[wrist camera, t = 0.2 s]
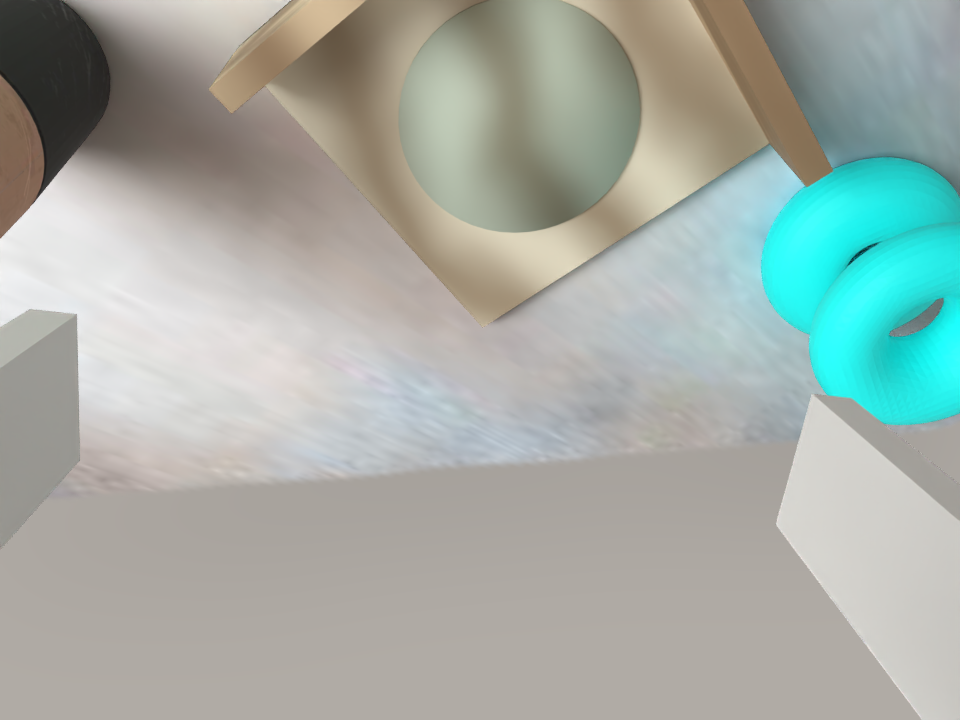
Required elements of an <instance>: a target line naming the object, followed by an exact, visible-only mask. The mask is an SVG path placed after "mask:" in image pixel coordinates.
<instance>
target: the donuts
mask: <svg viewBox="0 0 960 720" xmlns="http://www.w3.org/2000/svg"><path fill="white" fill-rule="evenodd" d="M879 242H881V243H879ZM875 243H879V244H877V245H876V246H874V247H872V248H871V249H869V250H868V251H866V252H865V253H863V254H862V255H861V256H859V257H858V258H857V259H855V260H854V261H853V262H852V263H851V264H850V265H849V266H848V267H847V265H848V263H849V262H850V260H851V259H852V258H853V257H854V256H855V255H856V254H857V253H858V252H859V251H861V250H862V249H864V248H865V247H867V246H869V245H872V244H875ZM846 267H847V268H846ZM761 273H762V281H763V286H764V289H765V292H766V295H767V297H768V299H769V301H770V303H771V304H772V306H773V307H774V309H775V310H776V312H777V313H778V314H779V315H780V316H781V317H782V318H783V319H784V320H785V321H787V322H788V323H789V324H790V325H792V326H793V327H795V328H797V329H798V330H800V331H802V332H804V333H807V334H810V338H809V354H810V360H811V365H812V368H813V372H814V374H815V377H816V379H817V380H818V382H819V384H820V385H821V387H822V388H823V390H824V391H825V393H826V394H827V395H828V396H837V397H846V398H852V399H853V400H854V401H856V402H857V403H858V404H859V405H861V406H862V407H863V408H864V409H866V410H867V411H868V412H870V413H871V414H872V415H873V416H875V417H876V418H877V419H878V420H880V421H881V422H882V423H883V424H890V425H912V424H922V423H928V422H933V421H937V420H941V419H945V418H948V417H951V416H954V415H957V414H959V413H960V197H959V196H958V194H957V192H956V191H955V189H954V188H953V186H952V185H951V184H950V183H949V182H948V181H947V180H946V179H945V178H944V177H942V176H941V175H940V174H939V173H937V172H936V171H934V170H933V169H931V168H929V167H927V166H925V165H923V164H920V163H917V162H914V161H910V160H906V159H901V158H893V157H878V158H869V159H863V160H858V161H854V162H851V163H847V164H845V165H842V166H839V167H837V168H834V169H833V172H831V173H830V174H828V175H826V176H825V177H823V178H821V179H820V180H818V181H817V182H815V183H813V184H812V185H810V186H808V187H806V186H805V187H803V188H802V189H801V190H800V191H799V192H798V193H797V194H796V195H795V196H794V197H793V198H792V199H791V200H790V201H789V202H788V203H787V204H786V205H785V207H784V208H783V209H782V210H781V212H780V213H779V215H778V216H777V218H776V220H775V221H774V223H773V225H772V227H771V229H770V231H769V233H768V236H767V238H766V241H765V244H764V248H763V252H762V260H761ZM940 298H944V302H943V306H942V308H941V311H940V313H939V314H938V315H937V317H936V318H935V319H934V320H933V321H932V322H931V323H930V324H929V325H928V326H927V327H925V328H924V329H922V330H920V331H918V332H916V333H914V334H911V335H908V336H902V337H893V336H890V335H889V333H890V332H891V331H892V330H894V329H896V328H898V327H900V326H902V325H904V324H906V323H908V322H909V321H911V320H913V319H914V318H916V317H917V316H918V315H920V314H921V313H923V312H924V311H925V310H926V309H928V308H929V307H930V306H931V305H932V304H933V303H934V302H935V301H936V300H937V299H940Z"/></svg>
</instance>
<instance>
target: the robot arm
mask: <svg viewBox="0 0 960 720" xmlns="http://www.w3.org/2000/svg"><path fill="white" fill-rule="evenodd" d="M79 461H80V438H79V391H78V345H77V314H70V313H61V312H52V311H42V310H33V309H29V310H28V311H26V312H25V313H23V314H21V315H20V316H18V317H16V318H15V319H13V320H11V321H10V322H8V323H7V324H5V325H3V326H2V327H0V550H1V549H2V547H3V546H4V545H5V544H6V543H7V542H8V541H9V540H10V538H11V537H12V536H13V535H14V534H15V533H16V532H17V531H18V529H19V528H20V527H21V526H22V525H23V524H24V523H25V521H26V520H27V519H28V518H29V517H30V516H31V515H32V514H33V512H34V511H35V510H36V509H37V508H38V507H39V506H40V505H41V504H42V502H43V501H44V500H45V499H46V498H47V497H48V496H49V495H50V493H51V492H52V491H53V490H54V489H55V488H56V487H57V486H58V484H59V483H60V482H61V481H62V480H63V479H64V478H65V476H66V475H67V474H68V473H69V472H70V471H71V470H72V469H73V467H74V466H75V465H76V464H77V463H78V462H79ZM776 526H777V527H778V528H779V530H780V531H781V532H782V534H783V535H784V536H785V538H786V539H787V540H788V542H789V543H790V544H791V546H792V547H793V548H794V550H795V551H796V552H797V554H798V555H799V556H800V558H801V559H802V560H803V562H804V563H805V564H806V566H807V567H808V568H809V570H810V571H811V572H812V574H813V575H814V576H815V578H816V579H817V580H818V582H819V583H820V584H821V586H822V587H823V588H824V590H825V591H826V592H827V594H828V595H829V596H830V598H831V599H832V600H833V602H834V603H835V604H836V605H837V607H838V608H839V610H840V611H841V612H842V614H843V615H844V616H845V617H846V619H847V620H848V622H849V623H850V624H851V626H852V627H853V628H854V630H855V631H856V632H857V634H858V635H859V636H860V638H861V639H862V640H863V642H864V643H865V644H866V646H867V647H868V648H869V650H870V651H871V652H872V654H873V655H874V656H875V657H876V659H877V661H878V662H879V663H880V664H881V666H882V667H883V669H884V670H885V671H886V672H887V674H888V675H889V677H890V678H891V679H892V680H893V682H894V683H895V685H896V686H897V687H898V689H899V690H900V691H901V692H902V694H903V695H904V696H905V698H906V699H907V701H908V702H909V703H910V705H911V706H912V707H913V709H914V710H915V711H916V712H917V714H918V715H919V717H920V718H921V719H922V720H960V484H959V483H958V482H956V481H955V480H954V479H952V478H951V477H950V476H949V475H948V474H946V473H945V472H944V471H943V470H941V469H940V468H939V467H938V466H936V465H935V464H934V463H932V462H931V461H930V460H929V459H927V458H926V457H925V456H923V455H922V454H921V453H920V452H919V451H917V450H916V449H915V448H914V447H912V446H911V445H910V444H909V443H907V442H906V441H905V440H904V439H902V438H901V437H900V436H899V435H897V434H896V433H895V432H893V431H892V430H891V429H890V428H888V427H887V426H886V425H885V424H883V423H882V422H881V421H880V420H878V419H877V418H876V417H875V416H873V415H872V414H871V413H870V412H868V411H867V410H866V409H864V408H863V407H862V406H861V405H859V404H858V403H857V402H856V401H854V400H853V399H852V398H846V397H837V396H828V395H818V394H812V396H811V399H810V403H809V407H808V410H807V414H806V417H805V421H804V425H803V428H802V432H801V435H800V439H799V443H798V446H797V450H796V454H795V457H794V460H793V464H792V468H791V472H790V475H789V479H788V482H787V486H786V489H785V493H784V496H783V501H782V504H781V507H780V511H779V514H778V518H777V522H776Z"/></svg>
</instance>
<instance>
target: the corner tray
mask: <svg viewBox="0 0 960 720" xmlns="http://www.w3.org/2000/svg"><path fill="white" fill-rule="evenodd" d="M264 86H265V87H266V88H267V89H268V90H269V91H270V92H271V93H272V95H273V96H274V97H275V98H276V99H277V100H278V101H279V102H280V103H281V105H282V106H283V107H284V108H285V109H286V110H287V111H288V112H289V113H290V115H291V116H292V117H293V118H294V119H295V120H296V121H297V122H298V123H299V125H300V126H301V127H302V128H303V129H304V130H305V131H306V132H307V133H308V135H309V136H310V137H311V138H312V139H313V140H314V141H315V142H316V143H317V144H318V146H319V147H320V148H321V149H322V150H323V151H324V152H325V153H326V154H327V156H328V157H329V158H330V159H331V160H332V161H333V162H334V163H335V164H336V166H337V167H338V168H339V169H340V170H341V171H342V172H343V173H344V174H345V176H346V177H347V178H348V179H349V180H350V181H351V182H352V183H353V184H354V186H355V187H356V188H357V189H358V190H359V191H360V192H361V193H362V194H363V196H364V197H365V198H366V199H367V200H368V201H369V202H370V203H371V204H372V205H373V207H374V208H375V209H376V210H377V211H378V212H379V213H380V214H381V215H382V217H383V218H384V219H385V220H386V221H387V222H388V223H389V224H390V225H391V227H392V228H393V229H394V230H395V231H396V232H397V233H398V234H399V235H400V237H401V238H402V239H403V240H404V241H405V242H406V243H407V244H408V245H409V247H410V248H411V249H412V250H413V251H414V252H415V253H416V254H417V255H418V256H419V258H420V259H421V260H422V261H423V262H424V263H425V264H426V265H427V266H428V268H429V269H430V270H431V271H432V272H433V273H434V274H435V275H436V276H437V278H438V279H439V280H440V281H441V282H442V283H443V284H444V285H445V286H446V288H447V289H448V290H449V291H450V292H451V293H452V294H453V295H454V296H455V298H456V299H457V300H458V301H459V302H460V303H461V304H462V305H463V306H464V308H465V309H466V310H467V311H468V312H469V313H470V314H471V315H472V316H473V317H474V319H475V320H476V321H477V322H478V323H479V324H480V325H481V326H482V327H485V326H486V325H488V324H489V323H491V322H492V321H494V320H495V319H497V318H499V317H500V316H502V315H503V314H505V313H506V312H508V311H509V310H511V309H513V308H514V307H516V306H517V305H519V304H520V303H522V302H524V301H525V300H527V299H528V298H530V297H531V296H533V295H534V294H536V293H538V292H539V291H541V290H542V289H544V288H545V287H547V286H548V285H550V284H552V283H553V282H555V281H556V280H558V279H559V278H561V277H562V276H564V275H566V274H567V273H569V272H570V271H572V270H573V269H575V268H576V267H578V266H580V265H581V264H583V263H584V262H586V261H587V260H589V259H590V258H592V257H594V256H595V255H597V254H598V253H600V252H601V251H603V250H605V249H606V248H608V247H609V246H611V245H612V244H614V243H615V242H617V241H619V240H620V239H622V238H623V237H625V236H626V235H628V234H629V233H631V232H633V231H634V230H636V229H637V228H639V227H640V226H642V225H643V224H645V223H647V222H648V221H650V220H651V219H653V218H654V217H656V216H657V215H659V214H661V213H662V212H664V211H665V210H667V209H668V208H670V207H671V206H673V205H675V204H676V203H678V202H679V201H681V200H682V199H684V198H686V197H687V196H689V195H690V194H692V193H693V192H695V191H696V190H698V189H700V188H701V187H703V186H704V185H706V184H707V183H709V182H710V181H712V180H714V179H715V178H717V177H718V176H720V175H721V174H723V173H724V172H726V171H728V170H729V169H731V168H732V167H734V166H735V165H737V164H738V163H740V162H742V161H743V160H745V159H746V158H748V157H749V156H751V155H752V154H754V153H756V152H757V151H759V150H760V149H762V148H763V147H765V146H767V145H768V144H770V145H771V146H772V147H773V148H774V149H775V151H776V152H777V153H778V154H779V155H780V156H781V158H782V159H783V160H784V161H785V162H786V164H787V165H788V166H789V167H790V168H791V169H792V171H793V172H794V173H795V174H796V175H797V176H798V178H799V179H800V180H801V181H802V182H803V184H804V185H805V186H806V187H808V186H810V185H812V184H813V183H815V182H817V181H818V180H820V179H821V178H823V177H825V176H826V175H828V174H830V173H831V172H833V169H832V167H831V166H830V164H829V162H828V160H827V158H826V156H825V154H824V152H823V150H822V148H821V147H820V145H819V143H818V141H817V139H816V137H815V135H814V133H813V131H812V129H811V128H810V126H809V124H808V122H807V120H806V118H805V116H804V114H803V112H802V110H801V109H800V107H799V105H798V103H797V101H796V99H795V97H794V95H793V93H792V92H791V90H790V88H789V86H788V84H787V82H786V80H785V78H784V76H783V74H782V73H781V71H780V69H779V67H778V65H777V63H776V61H775V59H774V57H773V55H772V54H771V52H770V50H769V48H768V46H767V44H766V42H765V40H764V38H763V37H762V35H761V33H760V31H759V29H758V27H757V25H756V23H755V21H754V19H753V18H752V16H751V14H750V12H749V10H748V8H747V6H746V4H745V2H744V0H291V1H290V2H289V3H288V4H287V5H285V6H284V7H283V8H282V9H281V10H280V11H279V12H277V13H276V14H275V15H274V16H273V17H272V18H271V19H269V20H268V21H267V22H266V23H265V24H264V25H263V26H261V27H260V28H259V29H258V30H257V31H256V32H255V33H253V34H252V35H251V36H250V37H249V38H248V39H247V40H245V41H244V42H243V43H242V44H241V45H240V46H239V47H238V48H237V50H236V51H235V53H234V54H233V55H232V57H231V58H230V60H229V61H228V63H227V64H226V65H225V67H224V68H223V70H222V71H221V72H220V74H219V75H218V77H217V78H216V80H215V81H214V82H213V84H212V85H211V87H210V88H209V91H210V92H211V93H212V94H213V95H214V96H215V97H216V98H217V99H218V100H219V101H220V102H221V103H222V104H223V105H224V106H225V107H226V109H227V110H228V111H229V112H230V113H231V114H232V113H233V112H235V111H236V110H237V109H238V108H239V107H240V106H242V105H243V104H244V103H245V102H246V101H248V100H249V99H250V98H251V97H252V96H253V95H255V94H256V93H257V92H258V91H259V90H261V89H262V88H263V87H264Z"/></svg>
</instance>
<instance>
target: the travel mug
mask: <svg viewBox="0 0 960 720" xmlns="http://www.w3.org/2000/svg"><path fill="white" fill-rule="evenodd" d="M109 93H110V76H109V69H108V65H107V62H106V58H105V55H104V53H103V51H102V48H101V46H100V44H99V42H98V41H97V39H96V37H95V35H94V34H93V33H92V31H91V30H90V28H89V27H88V26H87V25H86V23H85V22H84V21H83V20H82V19H81V18H80V17H79V16H78V15H77V14H76V13H75V12H74V11H73V10H72V9H71V8H70V7H68V6H67V5H66V4H64V3H63V2H62V1H60V0H0V238H1V237H2V236H3V235H4V234H5V233H6V232H7V231H8V230H9V229H10V228H11V227H12V226H13V225H14V224H15V223H16V222H17V220H18V219H19V218H20V217H21V216H22V215H23V214H24V213H25V212H26V211H27V210H28V209H29V208H30V206H31V205H32V204H33V203H34V202H35V201H36V199H37V198H38V197H39V196H40V194H41V193H42V192H43V191H44V190H45V188H46V187H47V186H48V185H49V183H50V182H51V181H52V180H53V179H54V177H55V176H56V175H57V174H58V172H59V171H60V170H61V169H62V167H63V166H64V165H65V164H66V163H67V161H68V160H69V159H70V158H71V156H72V155H73V154H74V153H75V151H76V150H77V149H78V148H79V147H80V145H81V144H82V143H83V142H84V140H85V139H86V138H87V137H88V135H89V134H90V133H91V131H92V130H93V129H94V128H95V126H96V125H97V123H98V122H99V120H100V119H101V117H102V116H103V113H104V111H105V109H106V107H107V103H108V100H109Z"/></svg>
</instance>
